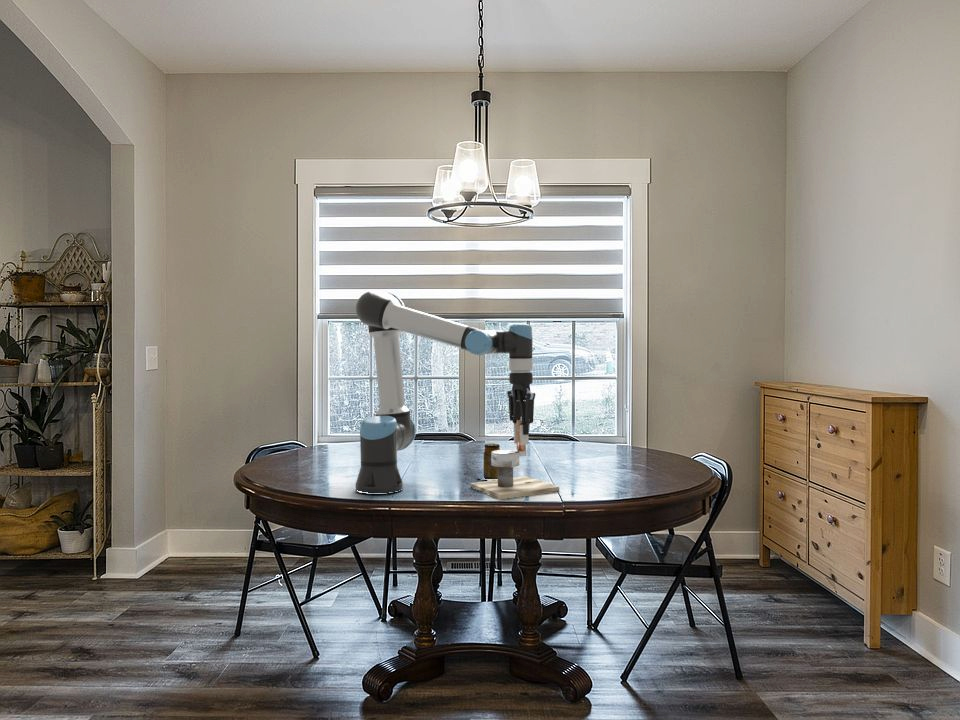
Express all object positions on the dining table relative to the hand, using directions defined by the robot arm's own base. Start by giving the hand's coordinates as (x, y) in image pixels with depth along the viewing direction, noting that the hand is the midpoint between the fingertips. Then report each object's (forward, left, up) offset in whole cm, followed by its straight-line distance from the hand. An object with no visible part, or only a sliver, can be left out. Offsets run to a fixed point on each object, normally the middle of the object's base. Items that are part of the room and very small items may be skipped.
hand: (521, 443), depth 222 cm
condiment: (-18, -1, -15) cm, 24 cm away
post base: (0, -3, -15) cm, 15 cm away
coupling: (0, -5, -6) cm, 8 cm away
